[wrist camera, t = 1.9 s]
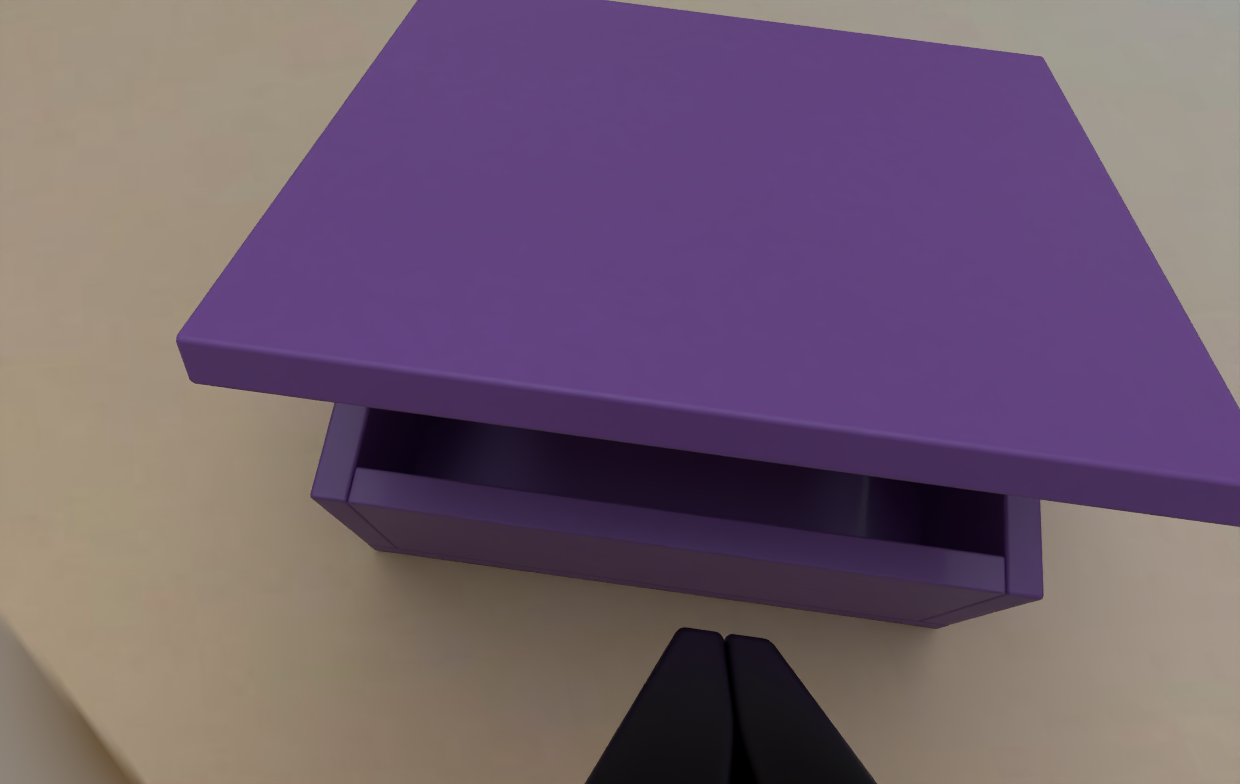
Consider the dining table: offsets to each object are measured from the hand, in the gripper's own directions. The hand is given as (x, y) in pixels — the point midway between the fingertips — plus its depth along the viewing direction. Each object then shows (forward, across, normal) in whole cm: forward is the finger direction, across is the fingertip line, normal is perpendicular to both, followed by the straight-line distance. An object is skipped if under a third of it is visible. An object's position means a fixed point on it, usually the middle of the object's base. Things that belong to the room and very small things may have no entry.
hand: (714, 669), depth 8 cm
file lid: (+9, 0, -2) cm, 9 cm away
